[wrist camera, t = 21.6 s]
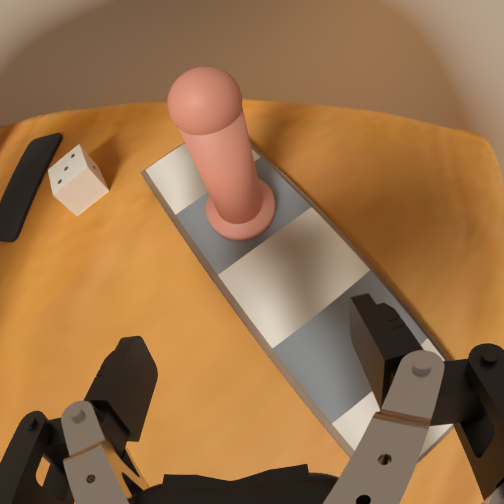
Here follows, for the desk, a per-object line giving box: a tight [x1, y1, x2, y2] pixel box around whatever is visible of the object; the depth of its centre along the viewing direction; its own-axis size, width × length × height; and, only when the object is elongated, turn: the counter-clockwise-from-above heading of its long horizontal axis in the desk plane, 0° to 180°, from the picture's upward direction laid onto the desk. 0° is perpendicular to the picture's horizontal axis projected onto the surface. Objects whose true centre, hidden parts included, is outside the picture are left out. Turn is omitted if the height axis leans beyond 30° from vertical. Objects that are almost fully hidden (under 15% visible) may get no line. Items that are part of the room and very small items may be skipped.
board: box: [141, 143, 454, 463], centre depth 20 cm, size 9×31×1 cm, turn 36°
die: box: [48, 144, 109, 216], centre depth 25 cm, size 4×4×4 cm
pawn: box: [167, 66, 276, 241], centre depth 17 cm, size 5×5×12 cm
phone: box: [0, 133, 63, 242], centre depth 30 cm, size 7×1×15 cm
